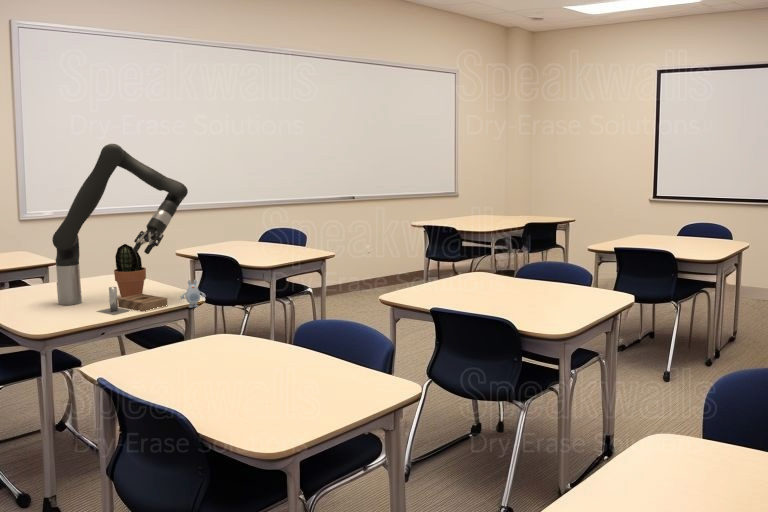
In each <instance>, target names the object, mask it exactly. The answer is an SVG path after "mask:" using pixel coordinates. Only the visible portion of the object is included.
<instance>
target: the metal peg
mask: <svg viewBox="0 0 768 512" xmlns="http://www.w3.org/2000/svg"><path fill="white" fill-rule="evenodd" d="M117 287H118V286H110V287H108V294H109V295H108V298H109V308H110V312H116V311H118V308H119V307H118V289H117Z"/></svg>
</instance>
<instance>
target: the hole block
mask: <svg viewBox="0 0 768 512" xmlns="http://www.w3.org/2000/svg"><path fill="white" fill-rule="evenodd" d="M117 302H118V308H122V309H127V310H132V309H133V310H134V311H138V310H140V311H139V312H143V311H145V312H147V311H146V310H150V309H153V308H157V307H162V306H166V305H167V306H168V298H167V297H163V296H157V295H152V294H151V295H150V294H146V293H142V294H137V295H133V296H128V297H123V298H121V297H119V298H118V297H117ZM167 306H166V307H167ZM162 308H163V307H162ZM133 310H132V311H133ZM150 311H151V310H150Z"/></svg>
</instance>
